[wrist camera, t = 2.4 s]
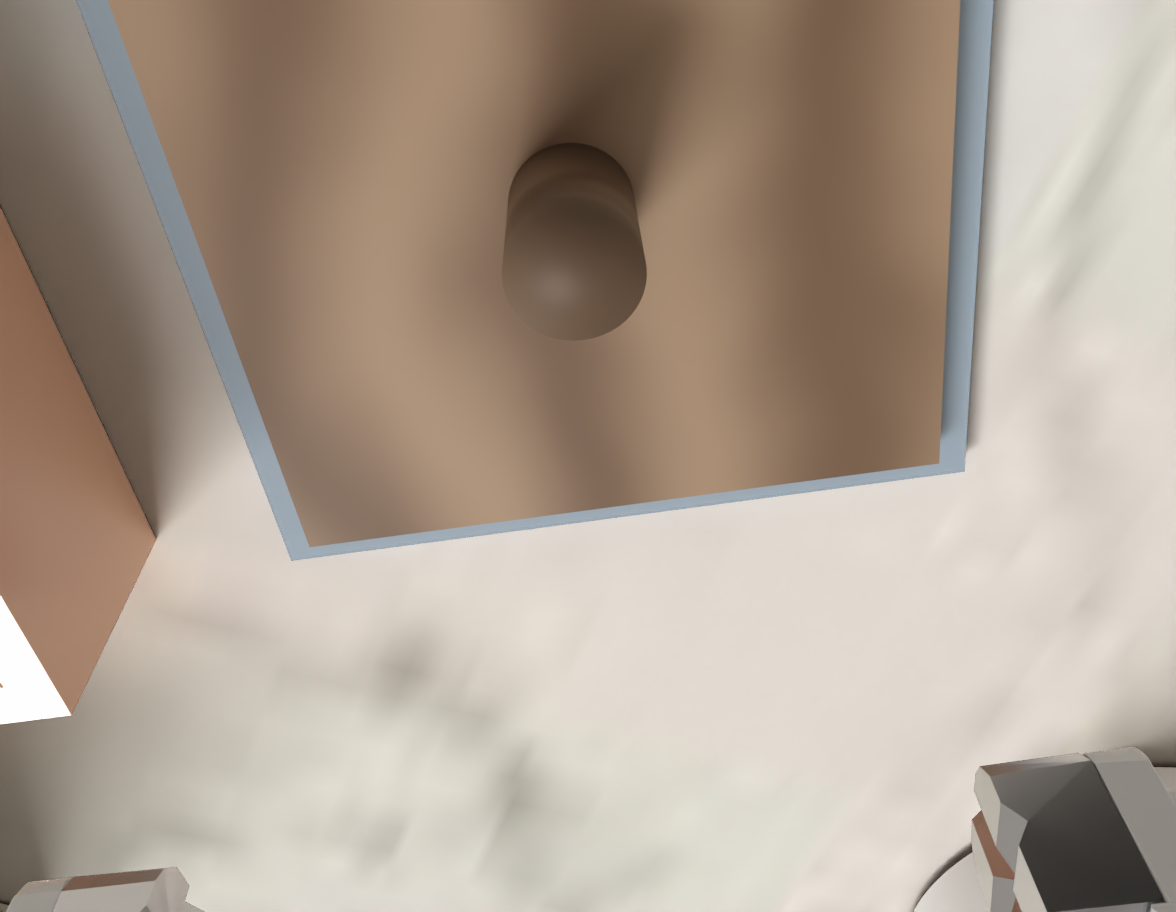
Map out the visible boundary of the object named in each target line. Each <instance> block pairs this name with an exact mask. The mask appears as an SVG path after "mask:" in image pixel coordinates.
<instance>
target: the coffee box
mask: <svg viewBox="0 0 1176 912" xmlns="http://www.w3.org/2000/svg"><path fill="white" fill-rule="evenodd" d="M8 907H9V905H6V904H2V903H0V912H6V911H7V909H8Z"/></svg>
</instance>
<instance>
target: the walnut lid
mask: <svg viewBox="0 0 1176 912" xmlns="http://www.w3.org/2000/svg"><path fill="white" fill-rule="evenodd" d="M108 2H109V5H110V8H111V10H112V13H113V16H114V19H115V21H116V24H117V27H118V29H119V32H120V35H121V38H122V40H123V43H124V46H125V48H126V51H127V54H128V56H129V59H130V62H131V65H132V67H133V70H134V73H135V75H136V78H137V81H138V84H139V86H140V89H141V92H142V94H143V97H144V100H145V103H146V105H147V108H148V111H149V113H150V116H151V119H152V122H153V124H154V127H155V130H156V132H157V135H158V138H159V141H160V143H161V146H162V149H163V151H164V154H165V157H166V159H167V162H168V165H169V168H170V170H171V173H172V176H173V178H174V181H175V184H176V187H177V189H178V192H179V195H180V197H181V200H182V203H183V206H184V208H185V211H186V214H187V216H188V219H189V222H190V225H191V227H192V230H193V233H194V235H195V238H196V241H197V244H198V246H199V249H200V252H201V254H202V257H203V260H204V262H205V265H206V268H207V271H208V273H209V276H210V279H211V281H212V284H213V287H214V290H215V292H216V295H217V298H218V300H219V303H220V306H221V309H222V311H223V314H224V317H225V319H226V322H227V325H228V328H229V330H230V333H231V336H232V338H233V341H234V344H235V347H236V349H237V352H238V355H239V357H240V360H241V363H242V365H243V368H244V371H245V374H246V376H247V379H248V382H249V384H250V387H251V390H252V393H253V395H254V398H255V401H256V403H257V406H258V409H259V412H260V414H261V417H262V420H263V422H264V425H265V428H266V431H267V433H268V436H269V439H270V441H271V444H272V447H273V449H274V452H275V455H276V458H277V460H278V463H279V466H280V468H281V471H282V474H283V477H284V479H285V482H286V485H287V487H288V490H289V493H290V496H291V498H292V501H293V504H294V506H295V509H296V512H297V515H298V517H299V520H300V523H301V525H302V528H303V531H304V534H305V536H306V539H307V542H308V544H309V547H316V546H323V545H331V544H338V543H346V542H353V541H361V540H368V539H376V538H383V537H391V536H398V535H406V534H414V533H421V532H429V531H436V530H444V529H451V528H459V527H466V526H474V525H481V524H489V523H496V522H504V521H511V520H519V519H526V518H534V517H541V516H549V515H556V514H564V513H571V512H579V511H586V510H594V509H601V508H609V507H616V506H624V505H631V504H639V503H646V502H654V501H661V500H669V499H676V498H684V497H691V496H699V495H707V494H714V493H722V492H729V491H737V490H744V489H752V488H759V487H767V486H774V485H782V484H789V483H797V482H804V481H812V480H819V479H827V478H834V477H842V476H849V475H857V474H864V473H872V472H879V471H887V470H894V469H902V468H909V467H917V466H924V465H932V464H939V459H940V437H941V415H942V393H943V371H944V349H945V327H946V305H947V283H948V261H949V239H950V217H951V195H952V173H953V150H954V128H955V106H956V84H957V62H958V40H959V18H960V0H108Z"/></svg>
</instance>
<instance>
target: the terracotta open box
mask: <svg viewBox="0 0 1176 912" xmlns="http://www.w3.org/2000/svg"><path fill="white" fill-rule="evenodd" d="M155 541H156V538H155V536H154V534H153V532H152V530H151V527H150V525H149V523H148V521H147V519H146V517H145V515H144V513H143V510H142V508H141V506H140V504H139V502H138V500H137V498H136V495H135V493H134V491H133V489H132V487H131V485H130V483H129V480H128V478H127V476H126V474H125V472H124V470H123V468H122V466H121V463H120V461H119V459H118V457H117V455H116V453H115V451H114V448H113V446H112V444H111V442H110V440H109V438H108V436H107V433H106V431H105V429H104V427H103V425H102V423H101V421H100V419H99V416H98V414H97V412H96V410H95V408H94V406H93V404H92V401H91V399H90V397H89V395H88V393H87V391H86V389H85V386H84V384H83V382H82V380H81V378H80V376H79V374H78V372H77V369H76V367H75V365H74V363H73V361H72V359H71V357H70V354H69V352H68V350H67V348H66V346H65V344H64V342H63V340H62V337H61V335H60V333H59V331H58V329H57V327H56V325H55V322H54V320H53V318H52V316H51V314H50V312H49V310H48V307H47V305H46V303H45V301H44V299H43V297H42V295H41V293H40V290H39V288H38V286H37V284H36V282H35V280H34V278H33V275H32V273H31V271H30V269H29V267H28V265H27V263H26V260H25V258H24V256H23V254H22V252H21V250H20V248H19V246H18V243H17V241H16V239H15V237H14V235H13V233H12V231H11V228H10V226H9V224H8V222H7V220H6V218H5V216H4V213H3V211H2V209H1V207H0V724H7V723H15V722H23V721H31V720H39V719H47V718H55V717H63V716H70V715H72V713H73V711H74V709H75V707H76V705H77V703H78V701H79V699H80V697H81V695H82V693H83V690H84V688H85V686H86V684H87V682H88V680H89V678H90V676H91V674H92V672H93V670H94V668H95V666H96V664H97V661H98V659H99V657H100V655H101V653H102V651H103V649H104V647H105V645H106V643H107V641H108V639H109V637H110V634H111V632H112V630H113V628H114V626H115V624H116V622H117V620H118V618H119V616H120V614H121V612H122V610H123V608H124V605H125V603H126V601H127V599H128V597H129V595H130V593H131V591H132V589H133V587H134V585H135V583H136V581H137V579H138V576H139V574H140V572H141V570H142V568H143V566H144V564H145V562H146V560H147V558H148V556H149V554H150V552H151V549H152V547H153V545H154V543H155Z"/></svg>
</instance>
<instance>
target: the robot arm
mask: <svg viewBox="0 0 1176 912" xmlns="http://www.w3.org/2000/svg"><path fill="white" fill-rule="evenodd" d="M974 792H975V794H976V797H977V800H978V802H979V805H980V807H981V811H980V812H979V813H978V814H977V815H976V816H975V817H974V818H973V819H972V833H971V844H972V851H973V852H972V853H970V854H969V855H967V856H966V857H964V858H963V859H962V860H960V861H959V862H957V863H956V864H955V865H954V866H952V867H951V868H950V869H949V870H947V871H946V872H945V873H944V874H943V875H942V876H941V877H940V878H939V879H938V880H937V881H936V882H935V883H934V884H933V885H932V886H931V887H930V888H929V889H928V891H927V892H926V893H925V894H924V896H923V897H922V898H921V900H920V901H919V903H918V904H917V906H916V908H915V910H914V912H1176V767H1153V765H1152V763H1151V762H1150V760H1149V758H1148V757H1147V755H1146V754H1144V753H1143V752H1142V751H1141V750H1139V749H1138V748H1137V747H1129V748H1121V749H1114V750H1107V751H1099V752H1092V753H1085V754H1079V753H1073V754H1065V755H1058V756H1051V757H1044V758H1036V759H1029V760H1022V761H1015V762H1007V763H1000V764H993V765H986V766H980V767H979V769H978V770H977V772H976V774H975V785H974ZM188 889H189V884H188V883H187V881H186V880H185V878H184V877H183V875H182V874H181V872H180V871H179V869H178V868H177V867H169V868H159V869H149V870H139V871H129V872H119V873H109V874H99V875H89V876H76V877H68V878H59V879H51V880H42V881H34V882H27V883H26V884H25V885H24V886H23V887H22V888H21V890H20V891H19V892H18V893H17V894H16V895H15V896H14V897H13V899H12V900H11V902H10V905H9V907H8V909H7V911H6V912H205V911H203V910H201V909H199V908H197V907H195V906H193V905H191V904H189V903H187V902H185V899H186V896H187V892H188Z"/></svg>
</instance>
